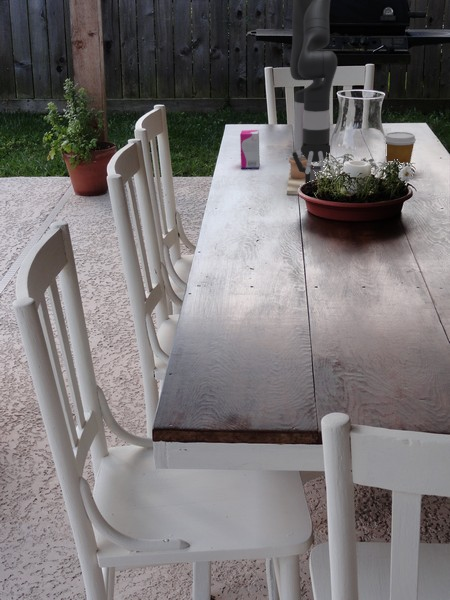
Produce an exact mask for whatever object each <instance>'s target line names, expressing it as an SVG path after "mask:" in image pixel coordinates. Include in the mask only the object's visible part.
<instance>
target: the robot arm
mask: <svg viewBox="0 0 450 600" xmlns="http://www.w3.org/2000/svg"><path fill="white" fill-rule="evenodd" d="M330 9H331V0H293V4H292V21H291V22H292V23H291V25H292V27H291V28H292V29H291V30H292V33H291V34H292V43H291V44H292V45H291V53H290V60H289V61H290V64H289V65H290V66H289V70H290V71H289V72H290V75H291V77H292V79H293V80H296V81H312V83H311V84H310V85H308V86H307V87H305V88H302V89H299V90H297V91H295V93H294V98H293V99H294V101H293V103H294V105H293V106H294V109H293V110H294V114H293V115H294V116H293V119H294V122H293V123H294V125H293V126H294V128H293V129H294V130H293V131H294V132H293V133H294V134H293V151H292V154H291V155H292V156H291V157H293V158H294V160H295V162H296V165H297V167H298V169H299V171H300V172H304V173H305V183H307V182H309V181H310V167H311V166H312V163H315V162H316V163H319V166H320V167H321V171H323V170H324V169H325V168H326V166H325V167H323V165H324V163H323V162H318V161H324V162H325V160H326V158H327V157H328V156H326V152H327V153H328V155H329V154H331V153H330V147H331V145H330V140H331V139H330V138H331V137H330V134H331V132H330V131H331V129H330V128H331V112H330V107H331V106H330V103H331V101H330V98H331V90H332V89H331V88H332V84H333V81H334V77H335V75H336V71H337V67H338V57H337V55H336V53H334V51H331V50H322V49H325V48H326V47H327V46H328V45H329V43H330V36H331V35H330ZM301 156H305V158H306V159H307V164H306V167H303V165H302V163H301V161H300V157H301Z"/></svg>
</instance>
